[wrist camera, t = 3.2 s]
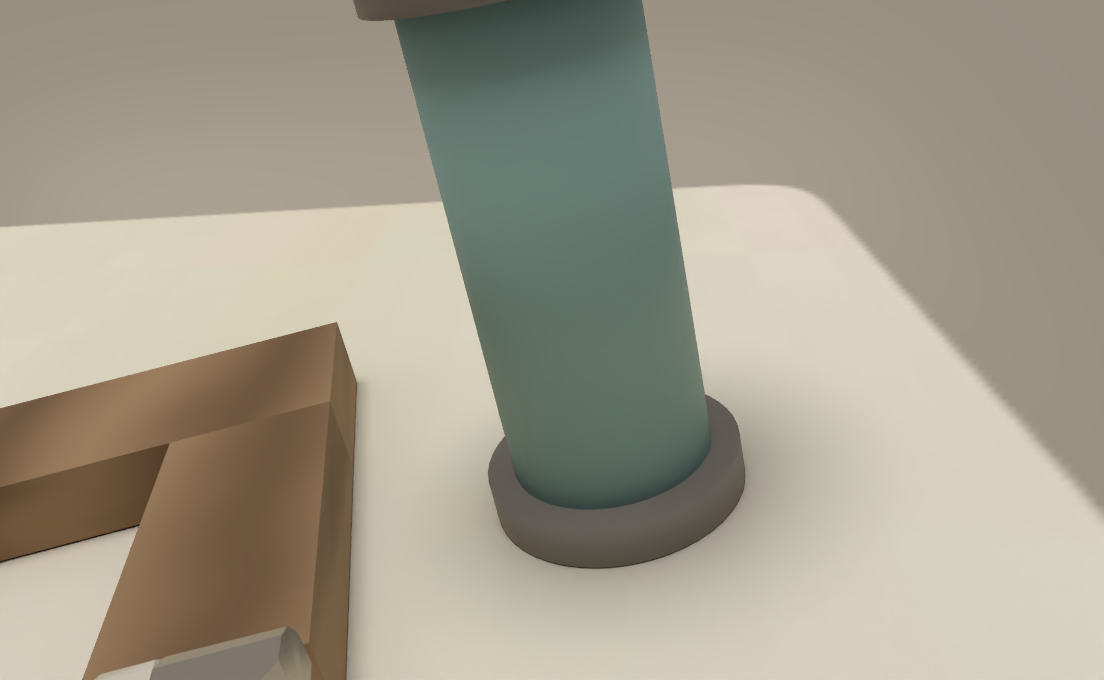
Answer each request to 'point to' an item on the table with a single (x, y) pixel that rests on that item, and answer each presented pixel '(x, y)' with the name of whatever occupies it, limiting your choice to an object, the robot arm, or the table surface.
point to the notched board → (200, 496)
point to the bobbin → (571, 273)
